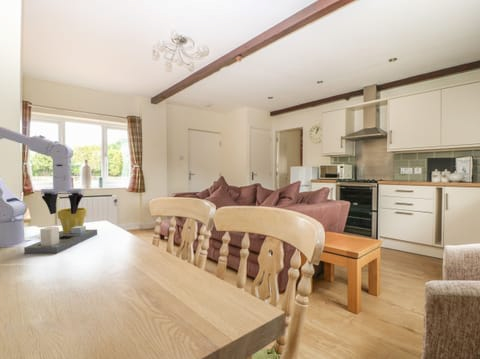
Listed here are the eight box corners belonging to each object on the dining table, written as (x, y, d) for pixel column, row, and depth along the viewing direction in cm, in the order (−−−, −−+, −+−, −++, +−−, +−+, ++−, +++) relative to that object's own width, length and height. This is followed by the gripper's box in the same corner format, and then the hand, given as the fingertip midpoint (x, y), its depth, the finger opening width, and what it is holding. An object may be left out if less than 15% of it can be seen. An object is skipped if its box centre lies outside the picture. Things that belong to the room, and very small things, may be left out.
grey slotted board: (24, 255, 81) (24, 247, 81) (72, 235, 105) (71, 229, 105) (56, 255, 82) (56, 247, 81) (97, 235, 105) (97, 229, 105)
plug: (39, 251, 83) (38, 229, 83) (48, 247, 87) (48, 227, 87) (50, 251, 83) (49, 229, 83) (59, 247, 87) (58, 226, 87)
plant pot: (65, 236, 105) (65, 212, 105) (53, 232, 110) (52, 210, 110) (91, 230, 114) (91, 208, 114) (79, 228, 119) (78, 206, 119)
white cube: (71, 238, 100) (71, 228, 99) (76, 236, 103) (76, 226, 103) (80, 238, 100) (80, 227, 99) (85, 235, 103) (85, 225, 103)
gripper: (34, 177, 92) (35, 215, 93) (75, 177, 93) (76, 215, 93) (48, 176, 99) (49, 212, 100) (86, 176, 100) (87, 212, 100)
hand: (63, 213), depth 97 cm, fingers open, 7 cm apart
